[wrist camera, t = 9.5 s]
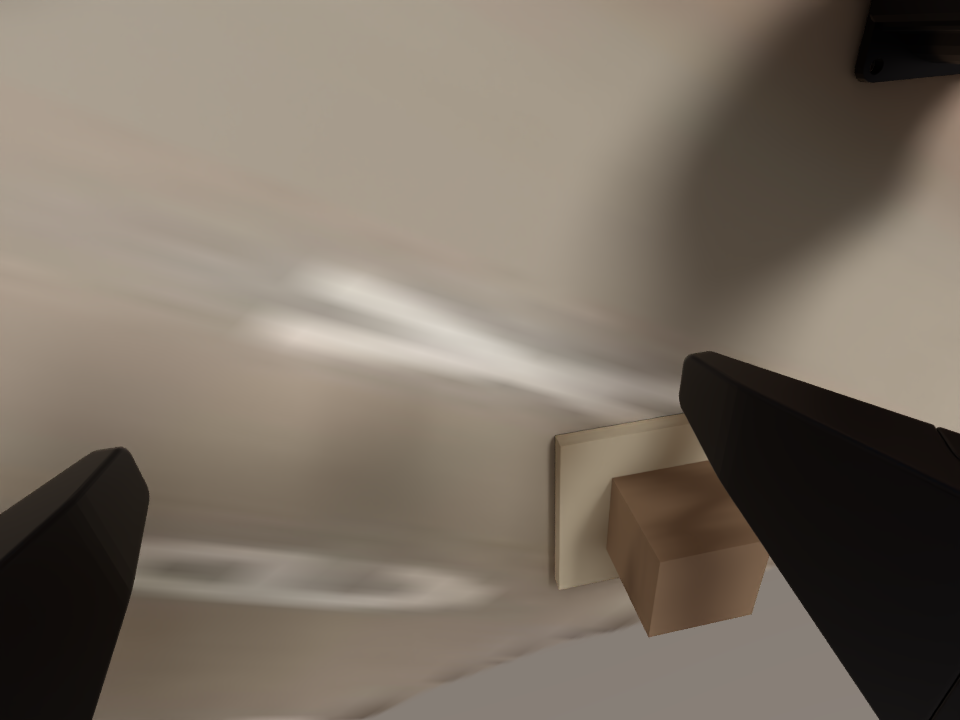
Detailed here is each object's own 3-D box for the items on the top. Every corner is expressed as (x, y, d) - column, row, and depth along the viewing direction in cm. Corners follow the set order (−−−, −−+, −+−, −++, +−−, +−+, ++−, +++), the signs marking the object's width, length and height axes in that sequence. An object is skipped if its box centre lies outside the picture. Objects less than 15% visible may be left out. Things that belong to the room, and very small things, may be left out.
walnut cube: (709, 459, 27) (774, 538, 23) (695, 531, 30) (751, 614, 26) (612, 477, 27) (660, 562, 22) (606, 549, 29) (648, 637, 25)
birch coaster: (755, 400, 27) (765, 410, 26) (722, 542, 32) (730, 554, 31) (555, 435, 26) (560, 446, 25) (554, 577, 31) (559, 590, 30)
